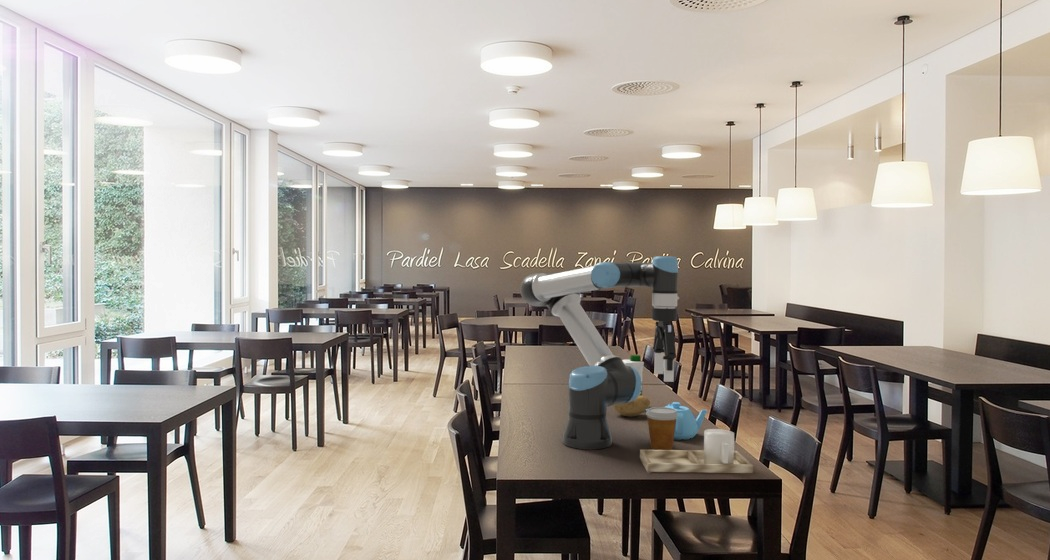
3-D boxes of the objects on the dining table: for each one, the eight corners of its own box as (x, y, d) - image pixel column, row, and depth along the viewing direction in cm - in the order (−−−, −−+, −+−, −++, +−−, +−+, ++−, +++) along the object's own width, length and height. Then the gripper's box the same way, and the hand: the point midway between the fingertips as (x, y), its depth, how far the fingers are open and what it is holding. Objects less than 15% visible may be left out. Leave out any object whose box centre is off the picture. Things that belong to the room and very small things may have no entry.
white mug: (710, 472, 179) (711, 438, 178) (700, 460, 189) (701, 428, 189) (740, 472, 178) (741, 439, 178) (729, 460, 189) (729, 429, 189)
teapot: (642, 434, 220) (642, 401, 220) (669, 427, 231) (669, 396, 230) (681, 443, 209) (681, 409, 209) (708, 435, 219) (708, 403, 219)
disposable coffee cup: (673, 445, 207) (673, 406, 207) (681, 454, 198) (681, 413, 197) (642, 445, 207) (643, 406, 206) (649, 454, 197) (649, 413, 197)
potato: (652, 418, 242) (652, 397, 242) (614, 418, 242) (614, 396, 242) (646, 413, 252) (647, 391, 252) (609, 412, 252) (610, 391, 252)
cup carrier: (647, 473, 179) (647, 464, 179) (639, 458, 193) (639, 449, 193) (753, 474, 178) (753, 465, 178) (737, 459, 192) (737, 450, 192)
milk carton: (645, 407, 261) (646, 356, 261) (624, 409, 259) (625, 357, 258) (635, 403, 270) (635, 353, 269) (614, 404, 267) (615, 354, 266)
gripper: (687, 310, 189) (686, 385, 190) (667, 304, 214) (666, 370, 215) (661, 310, 189) (660, 384, 190) (644, 304, 214) (643, 370, 215)
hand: (663, 377), depth 202 cm, fingers open, 13 cm apart
